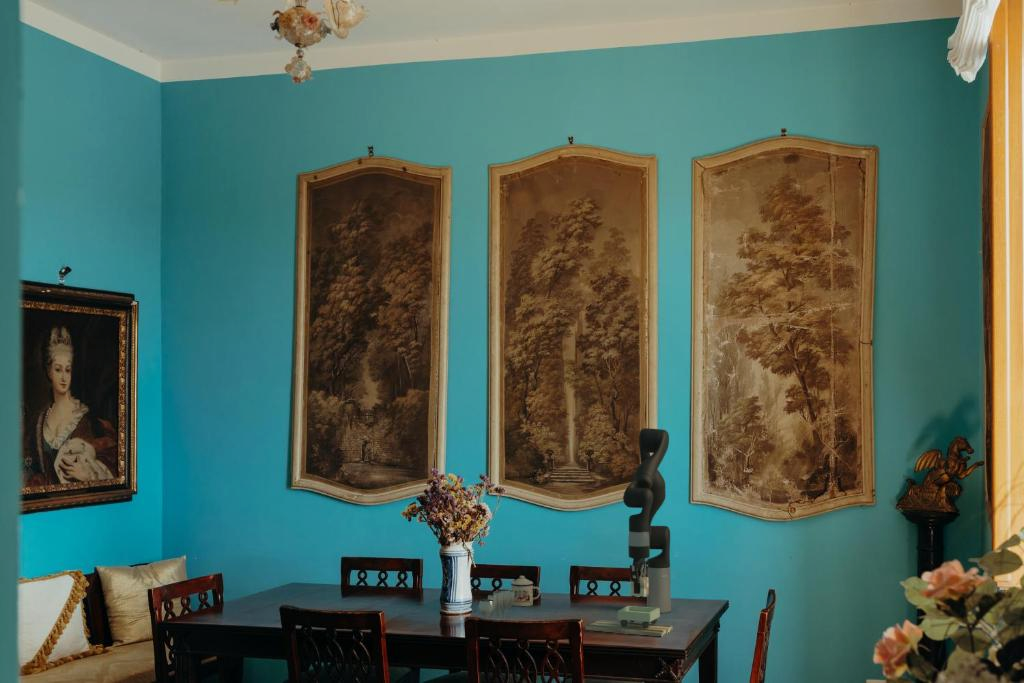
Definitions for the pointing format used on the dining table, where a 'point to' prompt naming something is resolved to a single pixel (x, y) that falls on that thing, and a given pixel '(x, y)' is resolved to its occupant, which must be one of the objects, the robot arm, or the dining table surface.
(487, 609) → the goblet set
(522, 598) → the teacup with lid
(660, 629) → the rail board
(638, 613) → the dolly
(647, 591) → the cream block
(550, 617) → the dining table surface
